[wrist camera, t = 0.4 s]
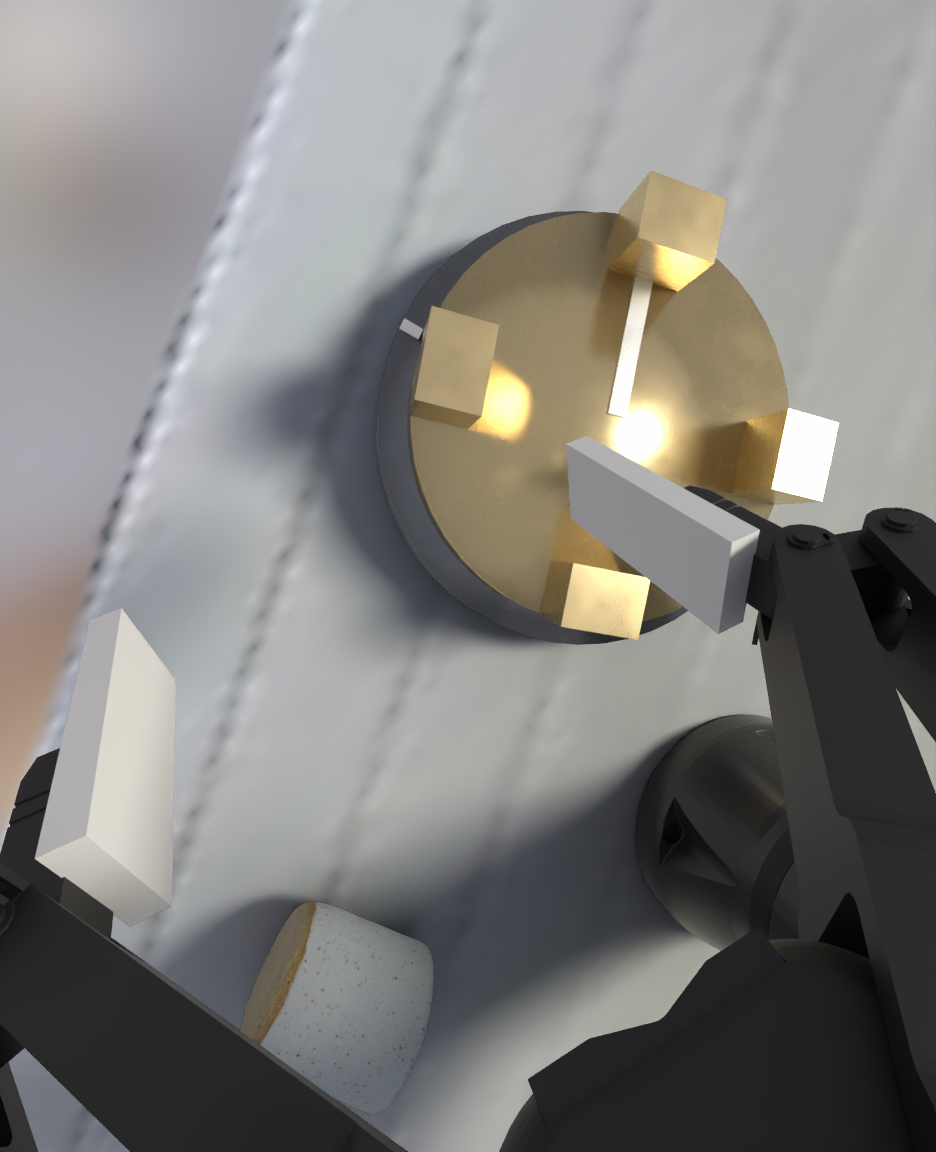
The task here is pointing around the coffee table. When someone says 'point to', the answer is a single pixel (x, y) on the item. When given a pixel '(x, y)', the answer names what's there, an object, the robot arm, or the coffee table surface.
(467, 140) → the coffee table surface
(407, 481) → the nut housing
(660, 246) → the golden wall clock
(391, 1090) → the ceramic mug
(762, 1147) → the robot arm
